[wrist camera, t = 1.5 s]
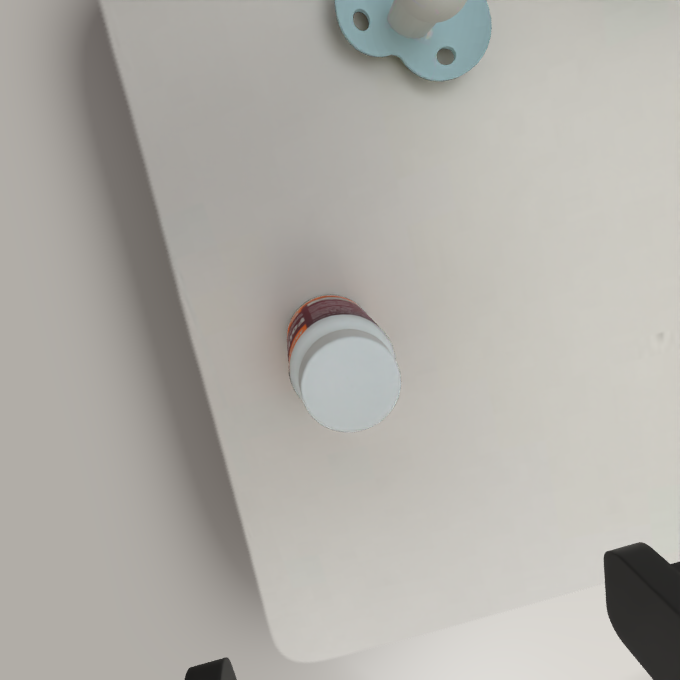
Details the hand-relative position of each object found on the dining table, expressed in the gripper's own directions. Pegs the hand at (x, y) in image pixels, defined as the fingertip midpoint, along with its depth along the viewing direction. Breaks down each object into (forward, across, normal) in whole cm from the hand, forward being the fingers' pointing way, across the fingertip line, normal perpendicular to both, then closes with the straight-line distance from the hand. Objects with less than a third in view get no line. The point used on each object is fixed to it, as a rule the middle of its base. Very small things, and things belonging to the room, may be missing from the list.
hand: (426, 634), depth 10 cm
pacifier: (+18, -8, -17) cm, 26 cm away
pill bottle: (+18, 0, -2) cm, 18 cm away
